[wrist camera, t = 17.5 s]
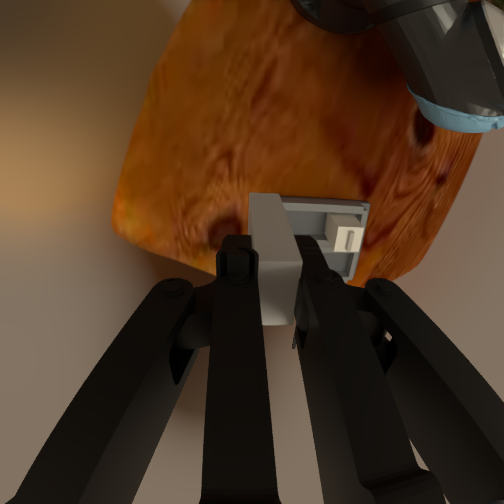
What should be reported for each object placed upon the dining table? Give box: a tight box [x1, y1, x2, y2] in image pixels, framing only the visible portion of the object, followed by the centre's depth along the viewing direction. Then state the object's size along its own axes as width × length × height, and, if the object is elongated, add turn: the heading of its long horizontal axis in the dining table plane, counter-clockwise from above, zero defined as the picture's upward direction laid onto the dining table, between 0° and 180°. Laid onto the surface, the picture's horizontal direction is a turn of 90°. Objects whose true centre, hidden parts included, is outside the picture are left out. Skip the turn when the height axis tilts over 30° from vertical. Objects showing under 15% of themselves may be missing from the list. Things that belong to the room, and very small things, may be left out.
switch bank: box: [280, 196, 370, 283], centre depth 48 cm, size 14×17×3 cm
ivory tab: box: [324, 212, 364, 252], centre depth 44 cm, size 4×4×7 cm
